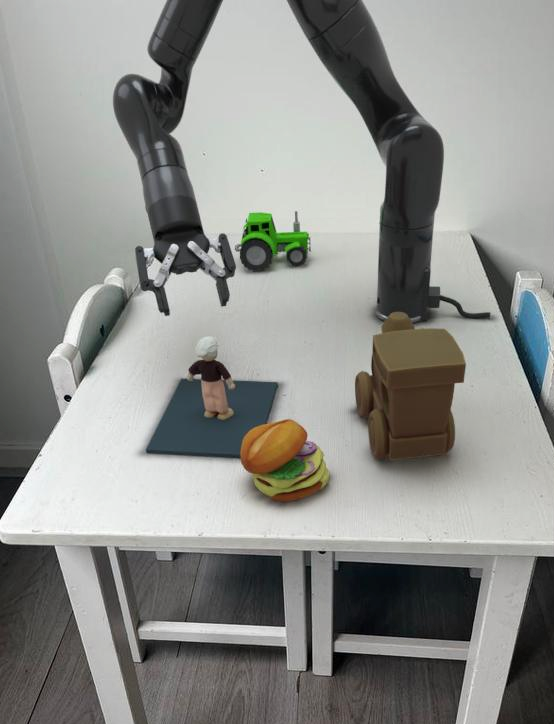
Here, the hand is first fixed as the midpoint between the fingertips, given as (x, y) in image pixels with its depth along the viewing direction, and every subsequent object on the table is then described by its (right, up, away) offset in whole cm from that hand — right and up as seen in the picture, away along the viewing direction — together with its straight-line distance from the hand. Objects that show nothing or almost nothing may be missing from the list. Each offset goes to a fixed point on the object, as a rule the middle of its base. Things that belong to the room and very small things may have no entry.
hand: (196, 309), depth 109 cm
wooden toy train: (+30, -19, -2) cm, 35 cm away
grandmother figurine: (+3, -15, +4) cm, 16 cm away
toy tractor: (+11, +22, +51) cm, 57 cm away
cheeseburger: (+13, -26, -10) cm, 30 cm away
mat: (+3, -16, +4) cm, 16 cm away
